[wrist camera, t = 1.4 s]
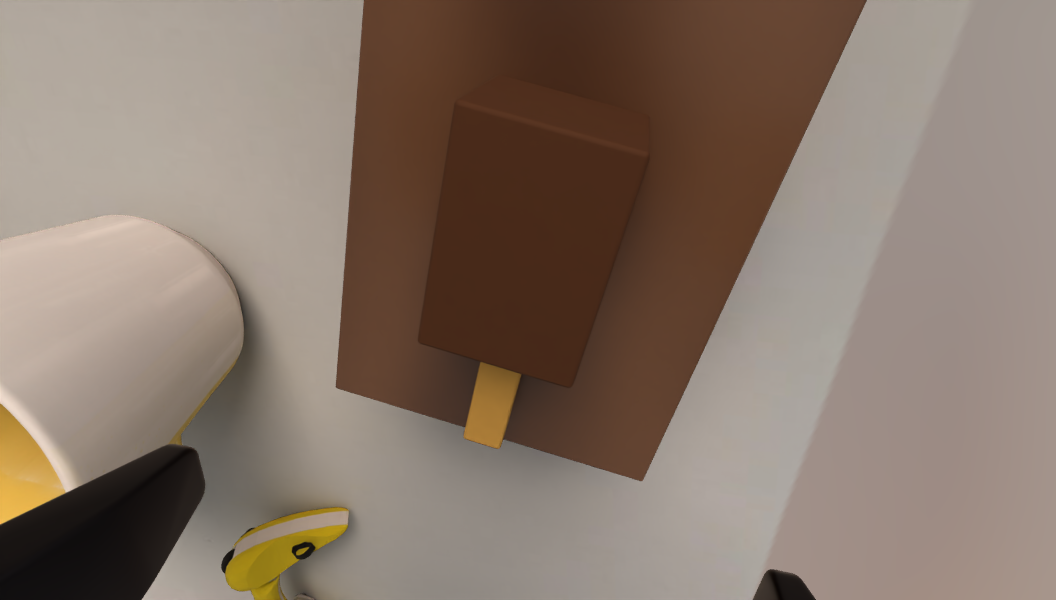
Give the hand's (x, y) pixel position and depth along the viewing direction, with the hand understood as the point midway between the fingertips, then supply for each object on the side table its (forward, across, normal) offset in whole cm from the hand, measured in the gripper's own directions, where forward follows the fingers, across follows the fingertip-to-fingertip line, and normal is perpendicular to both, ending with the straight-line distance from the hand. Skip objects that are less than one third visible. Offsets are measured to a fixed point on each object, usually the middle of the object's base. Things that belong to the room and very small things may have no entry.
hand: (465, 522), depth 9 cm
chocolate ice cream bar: (+6, 0, -1) cm, 6 cm away
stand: (+13, 0, -2) cm, 13 cm away
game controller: (+13, +12, +22) cm, 28 cm away
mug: (+13, +16, +7) cm, 23 cm away
